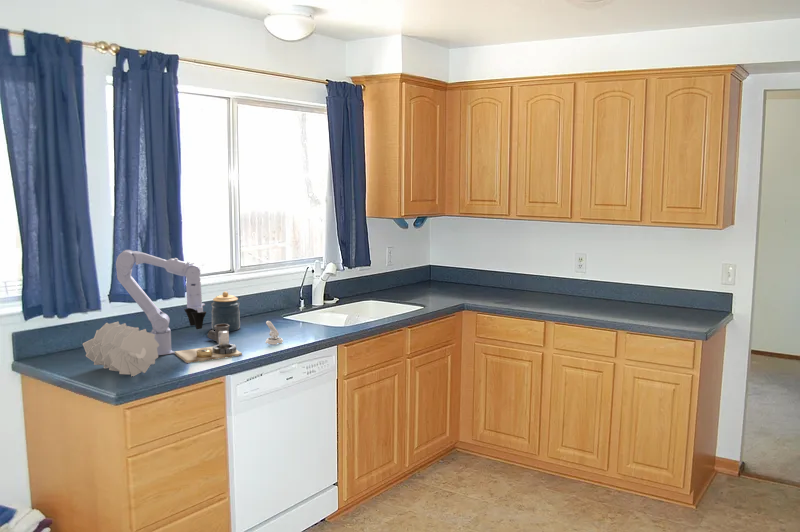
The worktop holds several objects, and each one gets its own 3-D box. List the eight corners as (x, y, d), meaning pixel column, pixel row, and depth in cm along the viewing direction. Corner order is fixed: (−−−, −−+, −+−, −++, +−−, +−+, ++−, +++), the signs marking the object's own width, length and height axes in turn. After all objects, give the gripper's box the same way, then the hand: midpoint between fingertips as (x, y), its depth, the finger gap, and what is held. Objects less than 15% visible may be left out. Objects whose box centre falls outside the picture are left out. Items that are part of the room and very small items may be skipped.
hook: (253, 333, 294) (259, 321, 299) (267, 352, 300) (273, 340, 305) (267, 331, 291) (273, 319, 296) (281, 350, 297) (287, 338, 302)
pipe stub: (220, 353, 276) (220, 333, 275) (217, 350, 280) (217, 331, 279) (230, 351, 279) (230, 332, 278) (227, 349, 282) (226, 330, 281)
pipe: (215, 338, 305) (215, 320, 303) (233, 343, 296) (233, 325, 295) (203, 341, 300) (203, 323, 299) (221, 346, 292) (221, 327, 291)
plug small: (199, 358, 268) (199, 353, 268) (194, 355, 273) (194, 349, 273) (214, 356, 271) (214, 351, 271) (209, 353, 276) (209, 347, 276)
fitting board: (186, 363, 265) (186, 360, 265) (174, 353, 278) (174, 351, 278) (242, 355, 277) (241, 353, 277) (227, 346, 290) (227, 344, 290)
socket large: (217, 355, 273) (217, 350, 273) (209, 350, 280) (209, 345, 280) (239, 352, 278) (239, 347, 278) (231, 347, 285) (231, 342, 285)
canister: (244, 329, 322) (244, 292, 320) (217, 333, 315) (216, 294, 312) (234, 324, 333) (233, 288, 330) (207, 327, 325) (206, 290, 323)
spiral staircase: (116, 373, 264) (154, 383, 249) (74, 362, 251) (111, 371, 236) (132, 327, 269) (170, 334, 253) (91, 314, 255) (129, 320, 240)
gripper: (209, 295, 276) (211, 328, 278) (198, 290, 288) (200, 322, 290) (192, 297, 272) (194, 331, 274) (181, 292, 284) (183, 324, 286)
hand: (196, 327), depth 282 cm, fingers open, 7 cm apart
